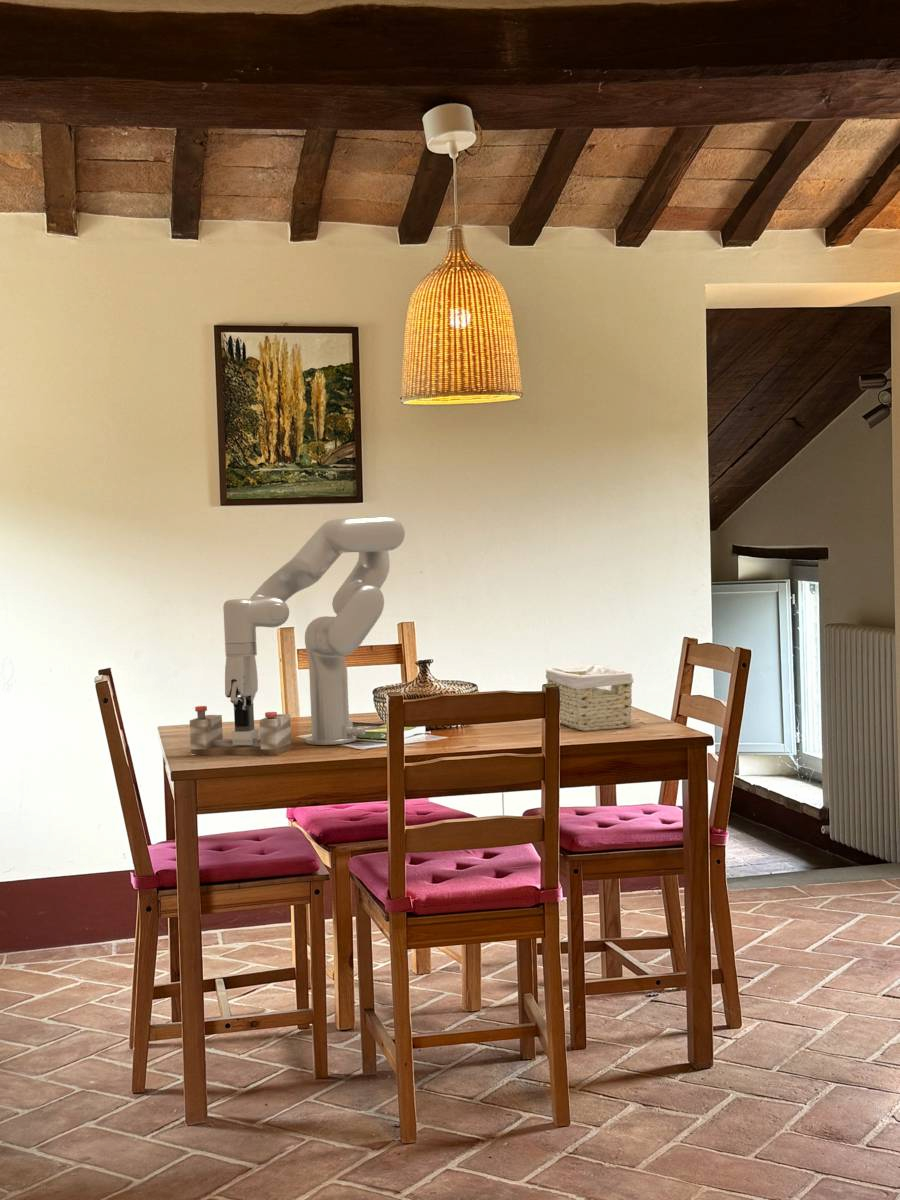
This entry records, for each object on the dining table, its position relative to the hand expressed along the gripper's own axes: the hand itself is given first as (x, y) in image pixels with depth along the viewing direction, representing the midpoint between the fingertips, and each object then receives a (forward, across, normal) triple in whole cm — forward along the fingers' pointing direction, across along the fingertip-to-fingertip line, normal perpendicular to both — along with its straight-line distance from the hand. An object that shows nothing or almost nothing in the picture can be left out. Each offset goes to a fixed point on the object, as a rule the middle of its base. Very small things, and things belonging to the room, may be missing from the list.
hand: (244, 724), depth 315 cm
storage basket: (+7, -45, +78) cm, 90 cm away
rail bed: (+7, 0, -1) cm, 7 cm away
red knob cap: (0, +2, +8) cm, 8 cm away
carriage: (+5, 0, 0) cm, 5 cm away
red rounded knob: (-2, +3, -10) cm, 10 cm away
